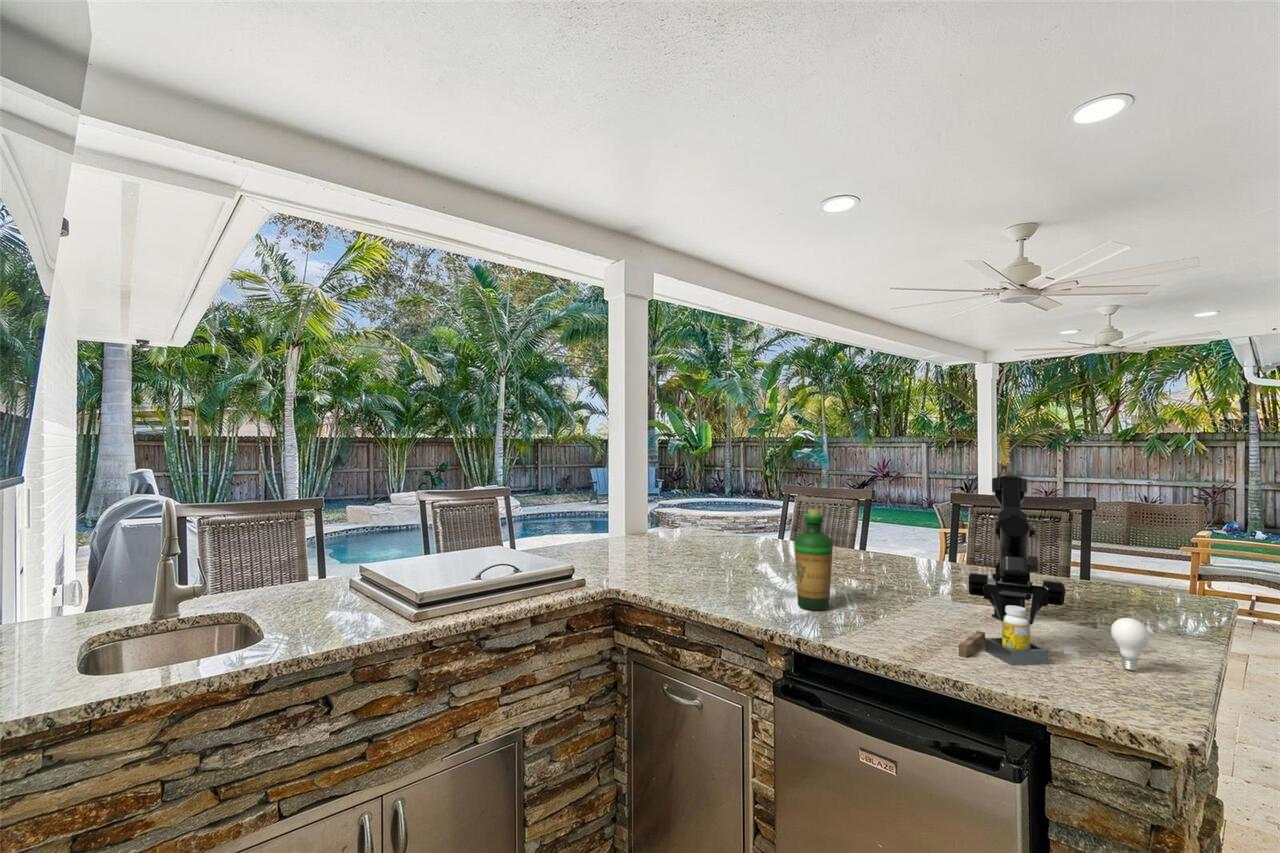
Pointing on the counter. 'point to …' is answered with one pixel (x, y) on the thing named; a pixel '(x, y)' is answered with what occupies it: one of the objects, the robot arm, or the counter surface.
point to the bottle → (813, 564)
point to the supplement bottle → (1015, 628)
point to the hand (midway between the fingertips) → (1016, 621)
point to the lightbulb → (1130, 640)
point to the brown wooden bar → (971, 644)
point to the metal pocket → (1017, 653)
